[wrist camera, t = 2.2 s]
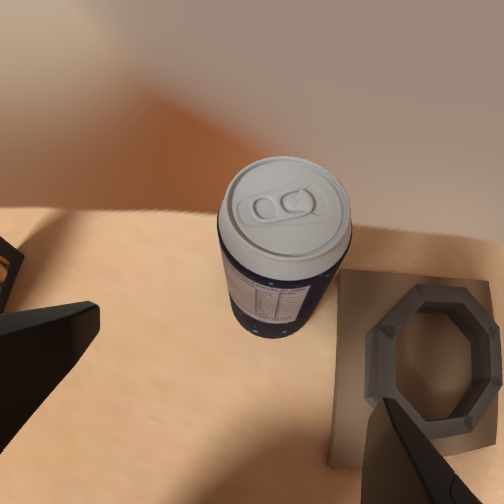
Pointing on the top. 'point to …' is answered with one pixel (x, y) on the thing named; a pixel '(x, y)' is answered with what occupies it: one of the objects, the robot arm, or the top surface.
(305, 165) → the beverage can
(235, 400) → the top surface
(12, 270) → the ammunition clip
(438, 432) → the can holder
